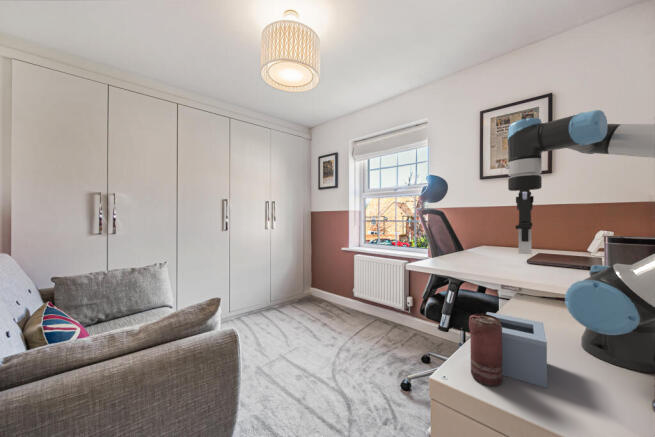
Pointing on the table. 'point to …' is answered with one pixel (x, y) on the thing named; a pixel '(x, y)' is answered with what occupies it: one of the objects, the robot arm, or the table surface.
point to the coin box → (523, 349)
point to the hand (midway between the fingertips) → (524, 250)
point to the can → (486, 349)
